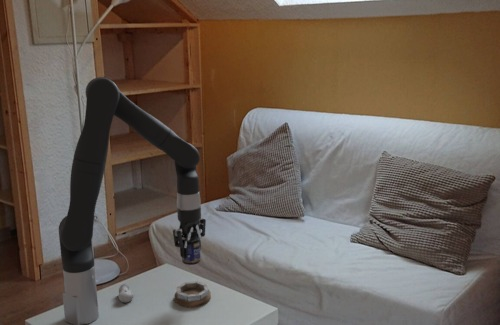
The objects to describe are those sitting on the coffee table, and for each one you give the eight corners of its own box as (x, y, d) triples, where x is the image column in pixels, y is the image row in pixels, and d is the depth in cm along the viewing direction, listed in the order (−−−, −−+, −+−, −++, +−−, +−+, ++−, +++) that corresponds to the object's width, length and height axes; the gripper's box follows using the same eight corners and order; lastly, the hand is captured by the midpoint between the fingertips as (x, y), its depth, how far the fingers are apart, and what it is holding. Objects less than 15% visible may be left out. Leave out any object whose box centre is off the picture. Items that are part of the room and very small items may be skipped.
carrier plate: (195, 310, 168) (195, 300, 167) (167, 301, 175) (166, 291, 174) (217, 295, 178) (217, 286, 177) (190, 286, 184) (189, 277, 184)
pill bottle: (197, 266, 170) (196, 234, 167) (179, 264, 171) (177, 232, 168) (202, 258, 176) (201, 227, 173) (185, 256, 177) (183, 225, 174)
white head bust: (132, 306, 174) (116, 304, 172) (131, 295, 181) (117, 292, 180) (135, 295, 173) (120, 292, 171) (135, 283, 180) (120, 281, 179)
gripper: (194, 197, 176) (195, 244, 180) (164, 209, 165) (167, 259, 169) (211, 201, 172) (213, 249, 176) (183, 213, 161) (185, 264, 165)
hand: (190, 253), depth 173 cm, fingers closed on pill bottle, 6 cm apart
